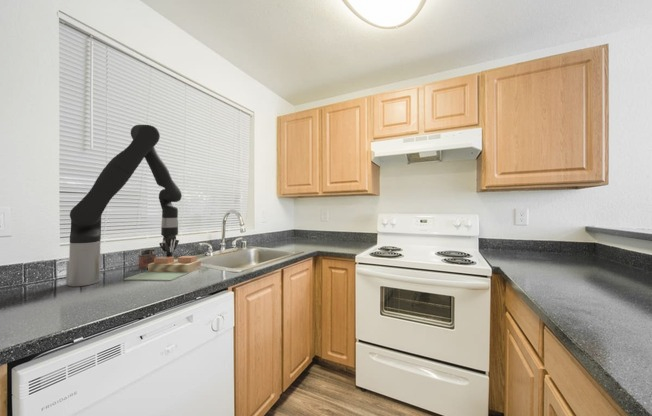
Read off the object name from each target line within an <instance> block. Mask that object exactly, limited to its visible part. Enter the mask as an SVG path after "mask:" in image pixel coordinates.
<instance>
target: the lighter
mask: <svg viewBox="0 0 652 416" xmlns="http://www.w3.org/2000/svg"><path fill="white" fill-rule="evenodd" d="M154 258H157V253H156V248H151V249H150V248H146V249H143V250H141V254H138V267H137V268H138V269H143V270H148V269H147V268H148V264H151V263H154Z"/></svg>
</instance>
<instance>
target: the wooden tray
mask: <svg viewBox="0 0 652 416" xmlns="http://www.w3.org/2000/svg"><path fill="white" fill-rule="evenodd" d="M201 264H202V260H200V259H197V261H194V262H192V263H183V262H178V259H174V262H171V263H168V264H159V263H151V264H148V269H147V272H188V274H190V273H192V272H194V271H196V270H198V269H200V268H202V265H201Z"/></svg>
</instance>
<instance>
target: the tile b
mask: <svg viewBox="0 0 652 416" xmlns="http://www.w3.org/2000/svg"><path fill="white" fill-rule="evenodd" d="M197 257H198V256H197V255H182V256H179V257H177V260H178V262H183V263H192V262H194V261H197V260H198V259H197Z"/></svg>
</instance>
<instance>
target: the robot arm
mask: <svg viewBox="0 0 652 416" xmlns="http://www.w3.org/2000/svg"><path fill="white" fill-rule="evenodd" d="M130 137H131V138H132V141H131V142H130V143H129V144H128V146H127V147H126V148H124V149H123V150H121V151H120V152H119V153H117V154H116V155H115V156H114V157H113V158H111V159H110V160H109V162H108V163H107V164H106V165H105V167H104V168H103V169H102V170H101V172H100V174H99V175H98V176H97V178H96V180H95V182H94V184H93V185H92V187H91V189H90V190H89V191H88V192H87V194H85V196H84V197H83V198H81V200H80V201H79V202H78V203H77V204H76V205H75V206H73V207H72V209H71V210H70V212H69V218H70V234H69V252H68V254H69V258H68V259H69V260H68V261H66V273H65V275H66V276H65V277H66V279H65V282H66V283H65V285H66V286H68V287H83V286H89V285H90V286H91V285H94V284H97V283H100V279H101V278H100V276H101V275H100V274H101V273H100V272H101V237H102V236H101V234H102V215H103V213H104V211H105V210H106V208H107V206H108V204H109V202H110V201H111V200H112V198H114V197H115V196H116V194H117V193H118V192H120V191H121V189H122V188H124V186H125V185H126V184H127V183H128V181H129V179H130V178H131V177H132V176H133V174H134V172H136V170H137V169H138V168H139V165H140V164H141V163H142V161H143V159H144V160H145V162H146V163H147V165H148V166H149V169H150V171H151V173H152V176H153V177H154V181H155V182H156V184H157V186H158V187H162V189H161V190H160V191H159V193H158V200H159V203H160V207H161V213H162V214H161V221H160V222H161V229H160V230H161V232H160V233H161V235H160V236H163V237H162V242H159V247H160V248H161V250H162V252H165V254H166V256H165V257H173V252H174V251H176V249H177V247H178V244H179V243H180V239H177V236H178V235H179V218H178V217H179V216H178V215H179V210H178V207H176V206H173V204H172V203H178V202H180V201H181V199H182V192H181V190H180V187H178V185H177V183H176V182H175V181H174V180H173V179H172V176H171V173H170V171H169V168H168V167H167V166H166V163H165V162H164V161H163V159H161V157H160V156H159V154H158V152H157V151H156V148H155V146H156V145H157V144H158V143H159V141H160V137H161V133H160V132H159V129H158V128H157V127H156V126H153V125H150V124H136V125H133V126H132V128H131V129H130Z"/></svg>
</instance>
